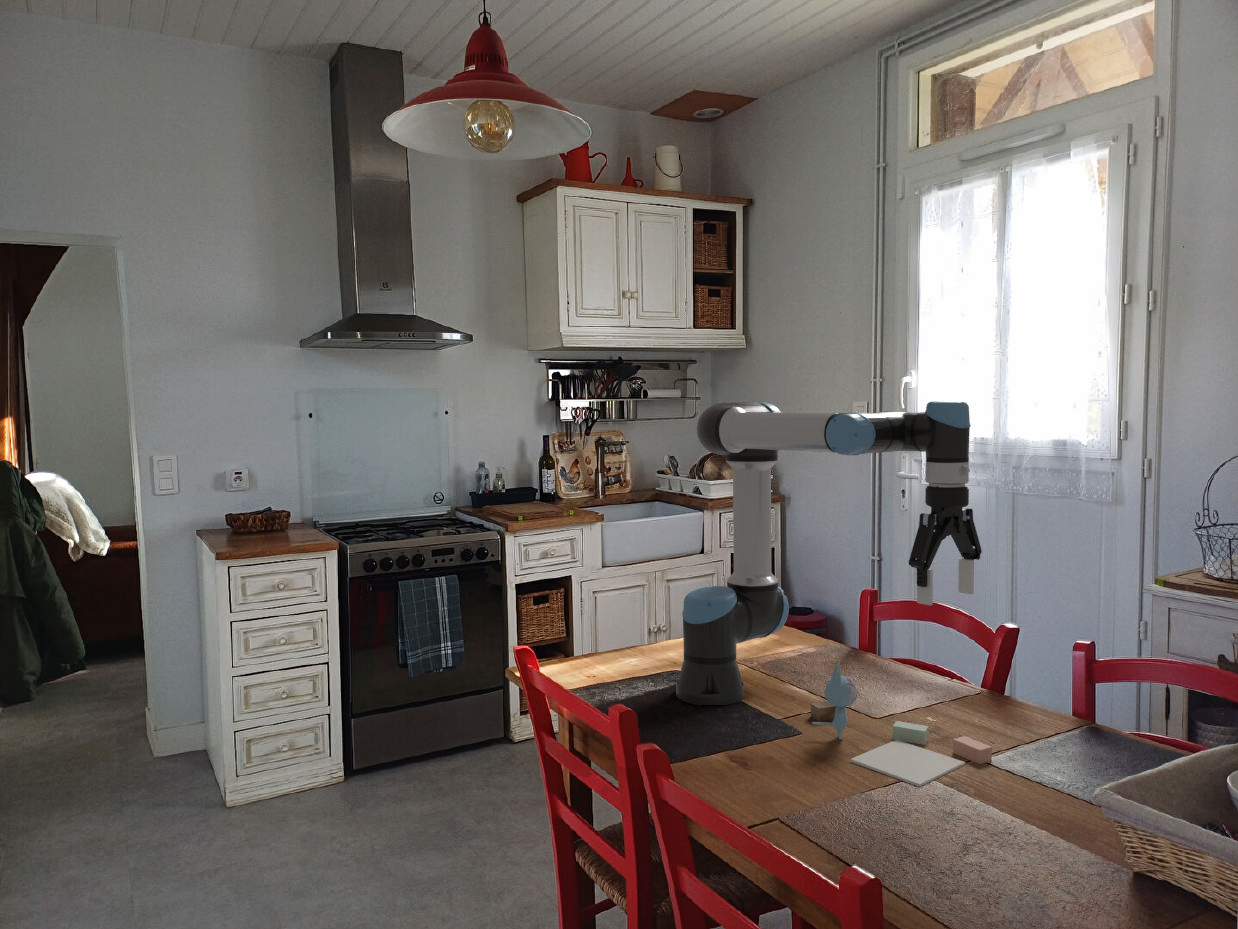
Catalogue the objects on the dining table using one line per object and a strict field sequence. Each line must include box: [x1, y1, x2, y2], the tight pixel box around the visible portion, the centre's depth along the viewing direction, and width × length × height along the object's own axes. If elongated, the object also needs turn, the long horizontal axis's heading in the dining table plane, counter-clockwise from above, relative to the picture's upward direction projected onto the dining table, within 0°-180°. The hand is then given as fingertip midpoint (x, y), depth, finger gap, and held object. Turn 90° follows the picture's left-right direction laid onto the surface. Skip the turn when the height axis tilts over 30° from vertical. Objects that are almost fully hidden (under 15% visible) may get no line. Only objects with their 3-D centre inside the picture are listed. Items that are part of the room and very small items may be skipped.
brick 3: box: [952, 735, 993, 765], centre depth 162 cm, size 6×3×3 cm, turn 28°
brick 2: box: [892, 720, 930, 746], centre depth 171 cm, size 6×3×3 cm, turn 59°
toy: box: [811, 659, 859, 741], centre depth 172 cm, size 7×6×15 cm
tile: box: [850, 740, 966, 787], centre depth 160 cm, size 14×14×1 cm
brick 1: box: [810, 700, 846, 722], centre depth 184 cm, size 6×3×3 cm, turn 108°
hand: (945, 598), depth 167 cm, fingers open, 13 cm apart
